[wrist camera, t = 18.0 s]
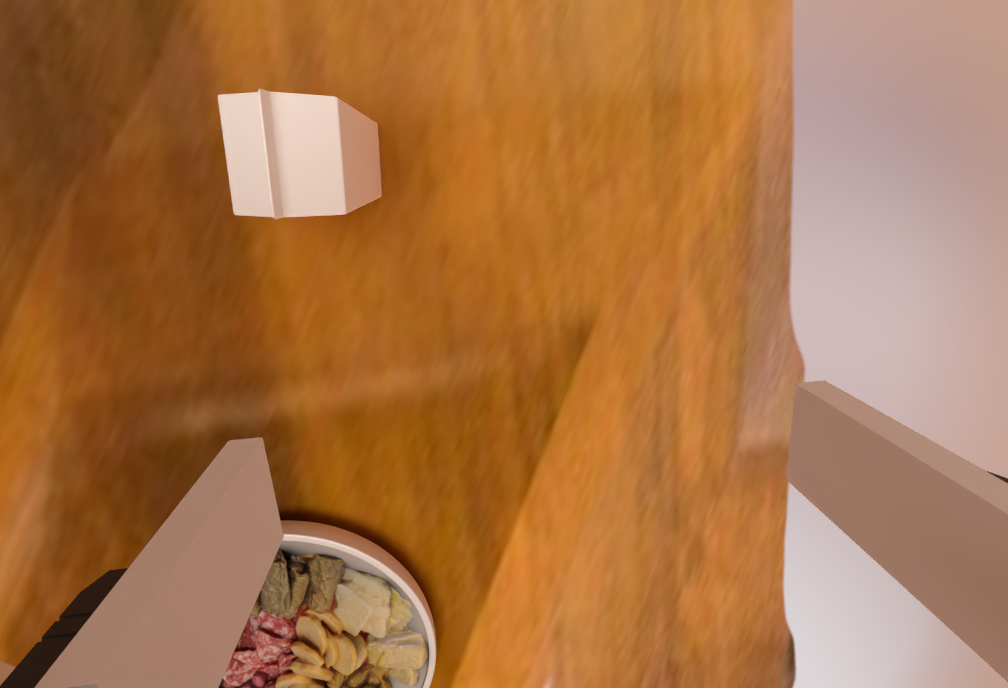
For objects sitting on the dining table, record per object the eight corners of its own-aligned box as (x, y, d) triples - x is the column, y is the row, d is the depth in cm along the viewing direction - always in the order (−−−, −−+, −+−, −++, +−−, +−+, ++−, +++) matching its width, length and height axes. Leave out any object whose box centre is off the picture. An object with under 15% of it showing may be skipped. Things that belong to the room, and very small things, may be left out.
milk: (378, 123, 47) (328, 85, 26) (382, 198, 49) (339, 220, 28) (302, 122, 46) (189, 83, 25) (309, 198, 48) (210, 221, 27)
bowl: (243, 452, 55) (211, 497, 47) (490, 588, 62) (496, 645, 55) (97, 661, 60) (48, 731, 53) (341, 762, 68) (328, 836, 60)
